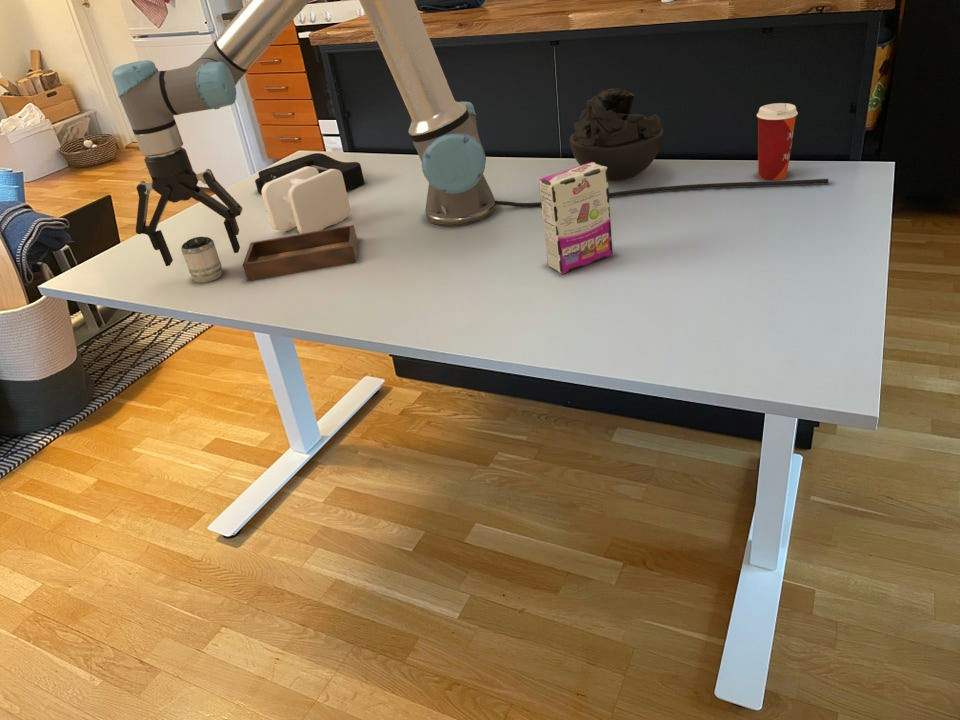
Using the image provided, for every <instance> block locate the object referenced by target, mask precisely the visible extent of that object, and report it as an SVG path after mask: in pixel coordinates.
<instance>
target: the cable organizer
mask: <svg viewBox="0 0 960 720" xmlns="http://www.w3.org/2000/svg"><path fill="white" fill-rule="evenodd" d="M261 196H262V199H263V203H264V206H265V209H266V214H267V216H268V219H269V222H270V227H271V228H272V229H273V230H274V231H277V232H279V231H280V232H285V231H286V232H289V231H291V230H293V229H295V228H297V231H298V233H299V234H303V233H309V232H315V231H320V230H324V229H325V228H327V227H329V226H333V225H334V226H335V225H337V224H339V223H341V222H343V221H344V220H345V218H347V217H348V216H349V214H350V212H351V205H350V200H349V195H348V191H346V188H345V183H344V179H343V175H342V173H341V171H339V170H336V169H329V170H327V171H324V172H322V173H320V174H319V172H318V170H317V169H316V168H314V167H303V168H301V169H299V170H296V171H294V172H291V173H289V174H287V175H284V176H282V177H280V178H277V179H275V180H272V181H270V182H268V183H266V184H265V185H264V186H263V188H262V194H261Z"/></svg>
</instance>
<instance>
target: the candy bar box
mask: <svg viewBox="0 0 960 720" xmlns="http://www.w3.org/2000/svg"><path fill="white" fill-rule="evenodd" d="M538 187H539V195H540V196H539V197H540V202H541V206H540V207H541V214H542V215H541V216H542V223H543V233H544V241H545V248H546V257H547V258H546V259H547V265H548V267H550V268H551V269H552V270H554V271H556V272H557V273H559V274H561V275H564V274H567V273H569V272H572V271H574V270H577V269H580V268H583V267H585V266H588V265H591V264H594V263H596V262H598V261H601V260H604V259H608V258H609V257H612V256H613V239H612V237H613V235H612V223H611V209H610V208H611V205H610V197H609V193H610V189H609V181H608V171H607V167H605V166H602V165H600V164H596V163H595V162H590V163H587V164H584V165H581V166H580V165H578V166H575V167H571V168H569V169H565V170H562V171H559V172H557V173H554V174H551V175H547V176H544V177H541V178H538Z"/></svg>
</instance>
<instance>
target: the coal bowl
mask: <svg viewBox="0 0 960 720" xmlns="http://www.w3.org/2000/svg"><path fill="white" fill-rule="evenodd" d="M635 97H636V96H635V94H634V93H633V92H629V91H628V90H626V89H623V90H621V89H620V88H619V87H616V88H613V87H612V88H611V87H610V88H607V89H603V90H602V91H600V92H599V93H598V94H596V95H594V96H593V97H592V98H590V99H587V100H586V102H585V103H586V108H585V109H584V108H583V110H581V112H580V115H579V116H578V117H577V121H575V122H574V124H573V130H574V133H572V134H571V135H570V137H569V146H570V149H571V152H572V154H573V157H574V159H575V161H576V162H577V163H578V164H579V165H578V166H581V165H584V164H587V163H590V162H595V163H596V164H600V165H602V166H605V167H607V171H608V182H621V181H626V180H629V179H631V178H634V177H637V176H638V175H639V174H642V172H644V171H645V170H646V169H647V168H648V167H649V166H650V165H651V164H652V163H653V162H654V160H655V159H656V157H657V155H658V153H659V151H660V149H661V146H662V144H663V143H662V142H663V138H664V130H663V127H662V119H661V117H659V115H657V114H656V113H654V114H652V115H650V116H645V115H643V114H642V113H640V114H639V113H633V114H632V113H631V112H632V106H633V103H634V98H635Z"/></svg>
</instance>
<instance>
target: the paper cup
mask: <svg viewBox="0 0 960 720" xmlns="http://www.w3.org/2000/svg"><path fill="white" fill-rule="evenodd" d="M798 114H799V112H798V111H797V106H796V105H795V104H792V103H787V102H785V103H784V102H777V103H776V102H775V103H769V104H765V105H762V106H760V107H759V109H758V112H757V113H756V117H757V132H758V133H757V136H758V137H757V174H758V175H757V176H758V178H759V179H760V180H764V181H781V180H784V179H785V178H786V177H787V175H788V170H789V165H790V158H791V152H792V145H793V138H794V131H795V124H796V118H797V116H798Z"/></svg>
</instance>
